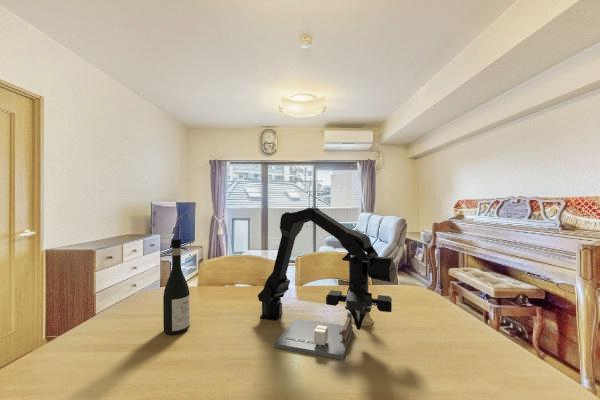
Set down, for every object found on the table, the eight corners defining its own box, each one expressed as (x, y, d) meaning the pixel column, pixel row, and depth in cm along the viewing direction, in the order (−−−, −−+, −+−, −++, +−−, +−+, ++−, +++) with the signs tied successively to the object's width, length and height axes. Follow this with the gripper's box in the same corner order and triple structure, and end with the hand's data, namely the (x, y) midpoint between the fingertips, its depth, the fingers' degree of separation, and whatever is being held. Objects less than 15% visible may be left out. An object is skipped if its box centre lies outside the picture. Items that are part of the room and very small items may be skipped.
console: (274, 347, 82) (274, 328, 82) (296, 320, 100) (295, 305, 100) (342, 359, 76) (342, 339, 76) (353, 329, 94) (353, 312, 94)
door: (338, 341, 83) (338, 329, 83) (344, 326, 93) (344, 316, 93) (345, 342, 83) (345, 330, 83) (350, 327, 92) (350, 316, 92)
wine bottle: (195, 327, 95) (194, 238, 95) (175, 337, 88) (175, 241, 88) (177, 322, 99) (177, 236, 99) (157, 332, 92) (157, 239, 91)
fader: (314, 345, 80) (314, 330, 80) (317, 338, 84) (317, 324, 84) (324, 347, 79) (324, 332, 79) (327, 340, 83) (327, 326, 83)
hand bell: (374, 327, 95) (374, 279, 95) (349, 325, 97) (349, 278, 96) (373, 317, 103) (373, 273, 103) (350, 315, 105) (350, 272, 105)
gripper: (321, 281, 80) (321, 336, 80) (391, 288, 74) (391, 348, 74) (330, 271, 90) (330, 320, 90) (391, 276, 84) (391, 329, 84)
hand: (358, 329), depth 84 cm, fingers closed
